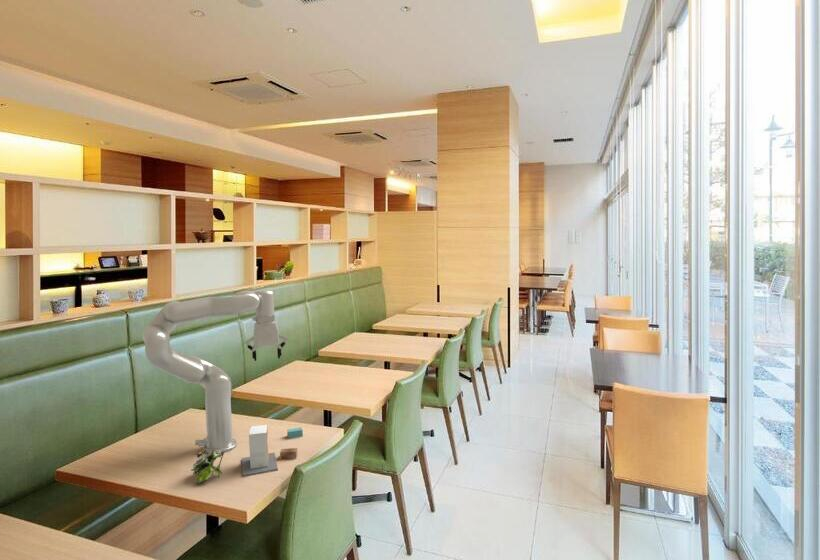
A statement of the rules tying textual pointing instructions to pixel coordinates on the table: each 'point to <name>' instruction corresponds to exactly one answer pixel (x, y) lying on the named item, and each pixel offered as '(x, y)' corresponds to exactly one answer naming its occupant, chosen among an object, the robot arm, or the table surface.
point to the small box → (258, 446)
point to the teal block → (294, 433)
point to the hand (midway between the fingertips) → (267, 358)
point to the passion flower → (206, 465)
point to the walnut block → (288, 453)
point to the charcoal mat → (271, 466)
